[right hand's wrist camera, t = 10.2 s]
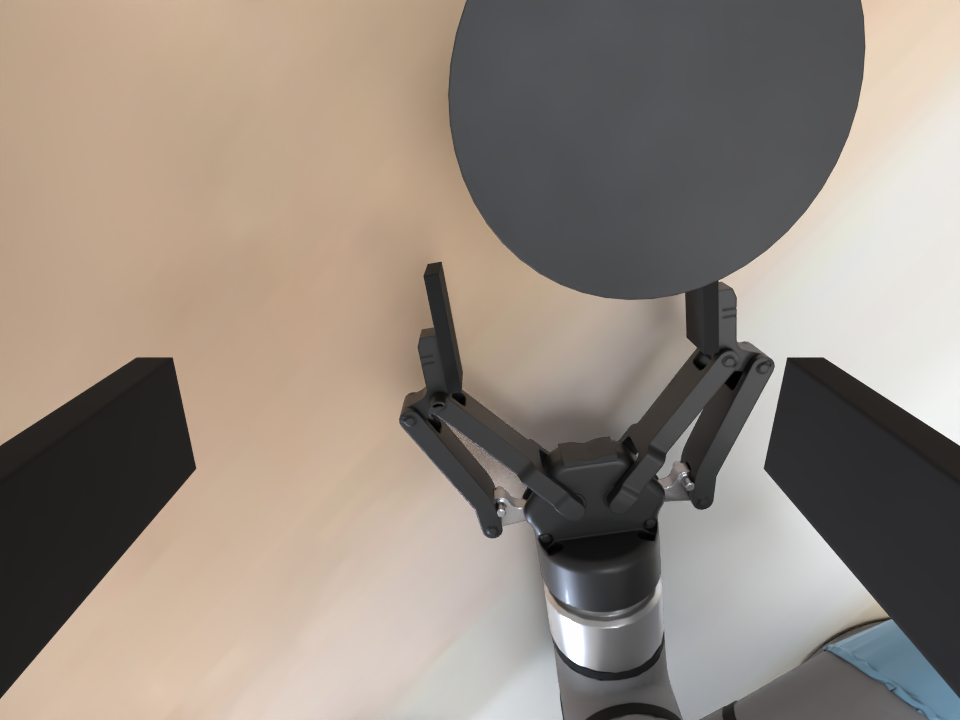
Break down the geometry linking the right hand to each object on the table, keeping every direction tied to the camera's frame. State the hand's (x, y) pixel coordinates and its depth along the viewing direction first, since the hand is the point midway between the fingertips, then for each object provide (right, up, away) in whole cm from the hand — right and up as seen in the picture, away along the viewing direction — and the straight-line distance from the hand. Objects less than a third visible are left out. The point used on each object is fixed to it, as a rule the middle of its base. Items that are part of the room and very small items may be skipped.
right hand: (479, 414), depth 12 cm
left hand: (+4, +7, +16) cm, 18 cm away
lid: (+5, +8, +3) cm, 10 cm away
